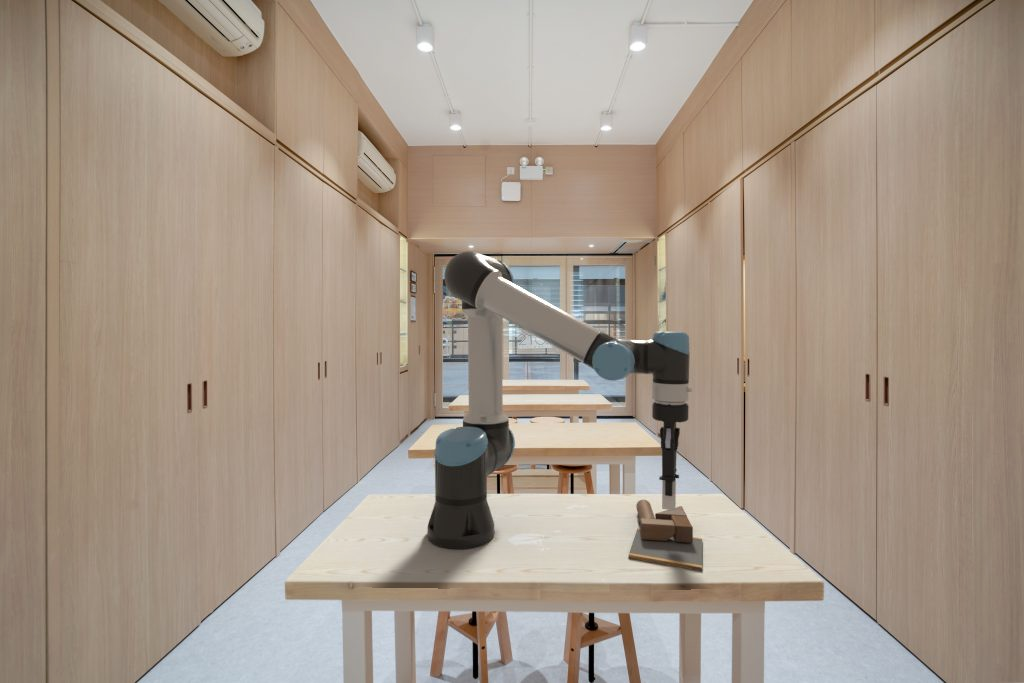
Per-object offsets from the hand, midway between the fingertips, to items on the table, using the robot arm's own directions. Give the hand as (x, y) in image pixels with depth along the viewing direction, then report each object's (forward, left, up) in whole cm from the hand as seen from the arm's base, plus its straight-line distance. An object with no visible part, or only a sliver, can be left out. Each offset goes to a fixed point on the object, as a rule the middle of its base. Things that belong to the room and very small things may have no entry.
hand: (668, 508), depth 107 cm
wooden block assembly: (0, -2, -5) cm, 5 cm away
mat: (0, -4, -7) cm, 8 cm away
